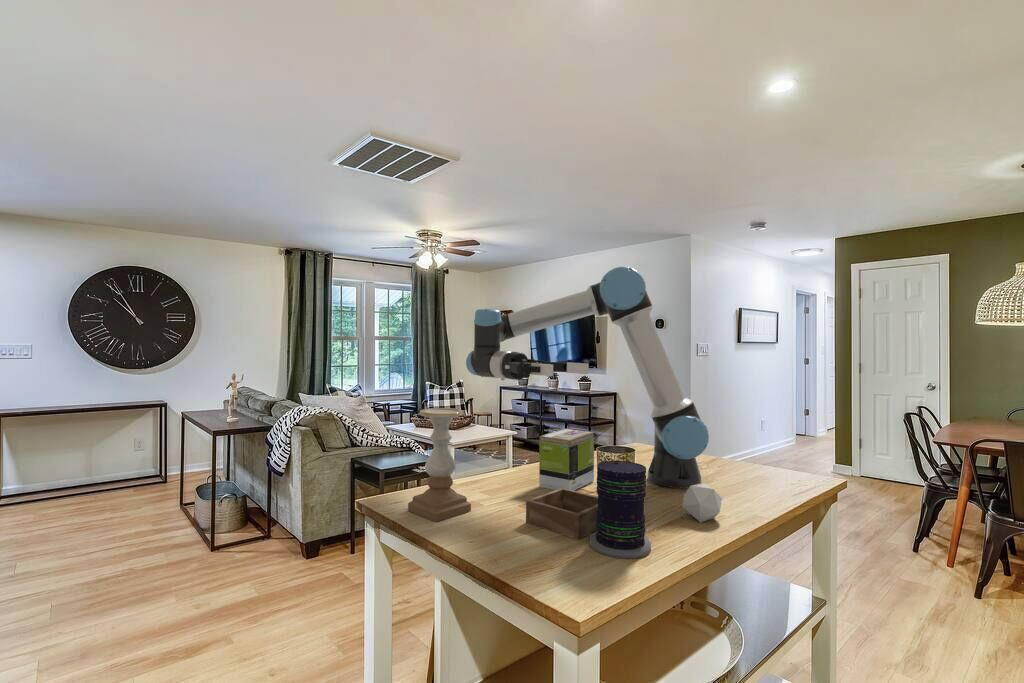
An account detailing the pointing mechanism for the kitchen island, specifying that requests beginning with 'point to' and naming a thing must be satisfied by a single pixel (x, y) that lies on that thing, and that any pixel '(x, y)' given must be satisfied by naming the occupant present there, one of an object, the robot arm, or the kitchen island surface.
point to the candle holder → (440, 472)
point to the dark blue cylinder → (621, 505)
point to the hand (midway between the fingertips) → (570, 369)
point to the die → (702, 502)
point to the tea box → (566, 459)
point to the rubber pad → (620, 553)
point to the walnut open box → (564, 512)
